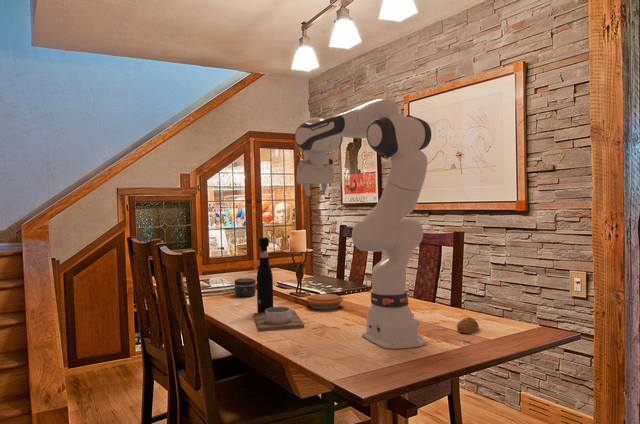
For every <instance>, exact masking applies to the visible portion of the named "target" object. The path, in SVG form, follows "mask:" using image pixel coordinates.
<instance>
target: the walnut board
mask: <svg viewBox="0 0 640 424" xmlns="http://www.w3.org/2000/svg"><path fill="white" fill-rule="evenodd" d="M253 316H254V321H255V323H256V327H257V330H258V332H266V331H279V330H281V331H282V330H292V329H293V330H294V329H303V328H305V323H304V322H303V321H302V319H301V318H300V316H299V315H298V314H297V312H296V311H295V309H294V310H293V309H292V321H291V322H288V323H284V324H271V323H267V322H266V321H265V312H262V313H258V312H254V313H253Z"/></svg>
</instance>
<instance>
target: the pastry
mask: <svg viewBox="0 0 640 424" xmlns="http://www.w3.org/2000/svg"><path fill="white" fill-rule="evenodd" d="M479 327H480V326H479V323H478V322H477V321H476V319H475V318H473V317H463V319H461V320H460V321H459V322H458V323H457V325H456V329H457V333H464V334H472V333H475V332H476V331H477V330H478V329H479Z"/></svg>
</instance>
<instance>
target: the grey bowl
mask: <svg viewBox="0 0 640 424" xmlns="http://www.w3.org/2000/svg"><path fill="white" fill-rule="evenodd" d="M292 310H293V309H292V307H290V306H289V307H288V306H273V307H271V308H267V309H266V310H265V321H266V322H267V323H271V324H284V323H288V322H291V321H292Z"/></svg>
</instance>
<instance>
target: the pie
mask: <svg viewBox="0 0 640 424" xmlns="http://www.w3.org/2000/svg"><path fill="white" fill-rule="evenodd" d="M343 300H344V297H342V296H339V295H338V294H335V293H316V294H312V295H310V296H308V297H307V298H306V302H307V304H308V305H309V306H310V307H311V309H313V310H315V311H316V310H317V311H332V310H336V309H339V306H340V304H341V303H342V302H343Z"/></svg>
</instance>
